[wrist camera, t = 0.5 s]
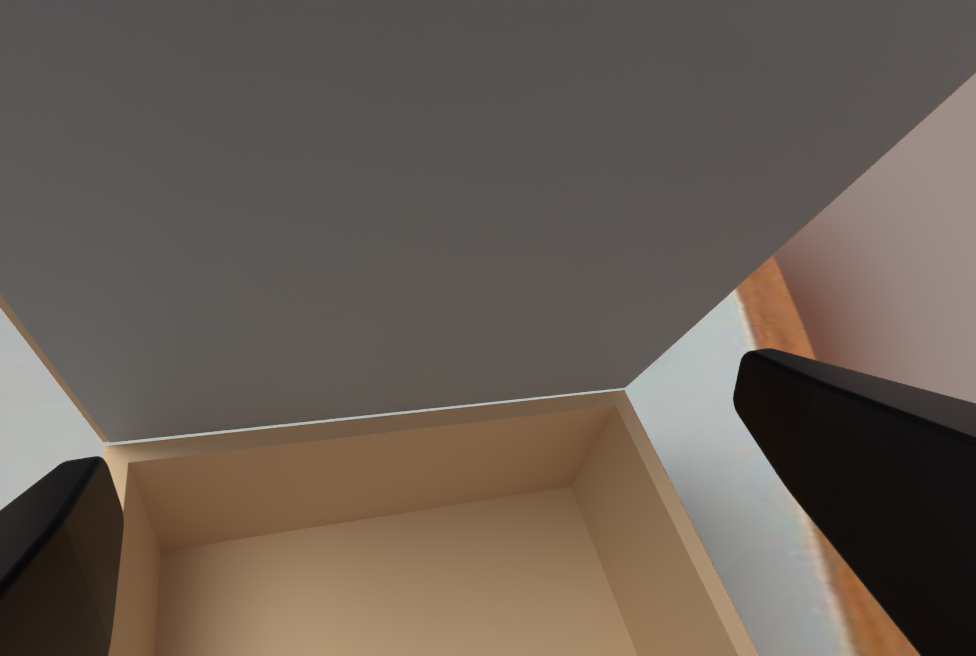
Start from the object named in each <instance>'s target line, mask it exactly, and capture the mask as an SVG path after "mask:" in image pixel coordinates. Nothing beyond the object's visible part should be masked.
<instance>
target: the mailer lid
mask: <svg viewBox="0 0 976 656" xmlns="http://www.w3.org/2000/svg"><path fill="white" fill-rule="evenodd" d="M975 73H976V0H0V307H1V309H2V310H3V311H4V313H5V314H6V315H7V316H8V318H9V319H10V320H11V322H12V323H13V324H14V326H15V327H16V328H17V330H18V331H19V332H20V334H21V335H22V336H23V337H24V339H25V340H26V341H27V343H28V344H29V345H30V347H31V348H32V349H33V351H34V352H35V353H36V354H37V356H38V357H39V358H40V360H41V361H42V362H43V364H44V365H45V366H46V368H47V369H48V370H49V372H50V373H51V374H52V375H53V377H54V378H55V379H56V381H57V382H58V383H59V385H60V386H61V387H62V389H63V390H64V391H65V392H66V394H67V395H68V396H69V398H70V399H71V400H72V402H73V403H74V404H75V406H76V407H77V408H78V410H79V411H80V412H81V413H82V415H83V416H84V417H85V419H86V420H87V421H88V423H89V424H90V425H91V427H92V428H93V429H94V430H95V432H96V433H97V434H98V436H99V437H100V438H101V440H102V441H103V442H119V441H128V440H138V439H147V438H156V437H166V436H175V435H184V434H194V433H203V432H213V431H222V430H231V429H241V428H250V427H260V426H269V425H278V424H288V423H297V422H307V421H316V420H325V419H335V418H344V417H353V416H363V415H372V414H382V413H391V412H400V411H410V410H419V409H429V408H438V407H447V406H457V405H466V404H475V403H485V402H494V401H504V400H513V399H522V398H532V397H541V396H551V395H560V394H569V393H579V392H588V391H597V390H607V389H616V388H625V387H626V386H628V385H629V384H630V383H631V382H632V381H633V380H634V379H635V378H637V377H638V376H639V375H640V374H641V373H642V372H643V371H644V370H645V369H647V368H648V367H649V366H650V365H651V364H652V363H653V362H654V361H655V360H657V359H658V358H659V357H660V356H661V355H662V354H663V353H664V352H665V351H667V350H668V349H669V348H670V347H671V346H672V345H673V344H674V343H675V342H677V341H678V340H679V339H680V338H681V337H682V336H683V335H684V334H686V333H687V332H688V331H689V330H690V329H691V328H692V327H693V326H694V325H696V324H697V323H698V322H699V321H700V320H701V319H702V318H703V317H704V316H706V315H707V314H708V313H709V312H710V311H711V310H712V309H713V308H714V307H716V306H717V305H718V304H719V303H720V302H721V301H722V300H723V299H724V298H726V297H727V296H728V295H729V294H730V293H731V292H732V291H733V290H735V289H736V288H737V287H738V286H739V285H740V284H741V283H742V282H743V281H745V280H746V279H747V278H748V277H749V276H750V275H751V274H752V273H753V272H755V271H756V270H757V269H758V268H759V267H760V266H761V265H762V264H763V263H765V262H766V261H767V260H768V259H769V258H770V257H771V256H772V255H773V254H775V253H776V252H777V251H778V250H779V249H780V248H781V247H782V246H783V245H785V244H786V243H787V242H788V241H789V240H790V239H791V238H792V237H793V236H795V235H796V234H797V233H798V232H799V231H800V230H801V229H802V228H804V227H805V226H806V225H807V224H808V223H809V222H810V221H811V220H812V219H814V217H816V216H817V215H818V214H819V213H820V212H821V211H822V210H824V208H826V207H827V206H828V205H829V204H830V203H831V202H832V201H834V199H836V198H837V197H838V196H839V195H840V194H841V193H842V192H843V191H845V190H846V189H847V188H848V187H849V186H850V185H851V184H852V183H854V182H855V181H856V180H857V179H858V178H859V177H860V176H861V175H863V173H865V172H866V171H867V170H868V169H869V168H870V167H871V166H872V165H874V164H875V163H876V162H877V161H878V160H879V159H880V158H881V157H882V156H884V155H885V154H886V153H887V152H888V151H889V150H890V149H891V148H893V147H894V146H895V145H896V144H897V143H898V142H899V141H900V140H902V139H903V138H904V137H905V136H906V135H907V134H908V133H909V132H910V131H911V130H912V129H914V128H915V127H916V126H917V125H918V124H919V123H920V122H921V121H923V120H924V119H925V118H926V117H927V116H928V115H929V114H930V113H932V112H933V111H934V110H935V109H936V108H937V107H938V106H939V105H941V104H942V103H943V102H944V101H945V100H946V99H947V98H948V97H949V96H951V95H952V94H953V93H954V92H955V91H956V90H957V89H958V88H959V87H961V86H962V85H963V84H964V83H965V82H966V81H967V80H968V79H969V78H971V77H972V76H973V75H974V74H975Z"/></svg>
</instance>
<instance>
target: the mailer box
mask: <svg viewBox="0 0 976 656" xmlns="http://www.w3.org/2000/svg"><path fill="white" fill-rule="evenodd" d="M103 459H104V460H105V461H106V463H107V464H108V467H109V470H110V473H111V476H112V479H113V482H114V485H115V488H116V491H117V494H118V497H119V500H120V503H121V506H122V509H123V516H124V531H123V540H122V550H121V559H120V568H119V577H118V586H117V596H116V605H115V614H114V623H113V631H112V638H111V645H110V650H109V655H108V656H759V654H758V652H757V650H756V648H755V646H754V644H753V642H752V640H751V638H750V636H749V634H748V632H747V630H746V628H745V626H744V624H743V622H742V620H741V618H740V616H739V614H738V612H737V610H736V608H735V606H734V605H733V603H732V601H731V599H730V597H729V595H728V593H727V591H726V589H725V587H724V585H723V583H722V581H721V579H720V577H719V575H718V573H717V571H716V569H715V567H714V565H713V563H712V561H711V559H710V557H709V555H708V554H707V552H706V550H705V548H704V546H703V544H702V542H701V540H700V538H699V536H698V534H697V532H696V530H695V528H694V526H693V524H692V522H691V520H690V518H689V516H688V514H687V512H686V510H685V508H684V506H683V504H682V503H681V501H680V499H679V497H678V495H677V493H676V491H675V489H674V487H673V485H672V483H671V481H670V479H669V477H668V475H667V473H666V471H665V469H664V467H663V465H662V463H661V461H660V459H659V457H658V455H657V453H656V451H655V450H654V448H653V446H652V444H651V442H650V440H649V438H648V436H647V434H646V432H645V430H644V428H643V426H642V424H641V422H640V420H639V418H638V416H637V414H636V412H635V410H634V408H633V406H632V404H631V402H630V400H629V399H628V397H627V395H626V393H625V391H624V390H622V391H613V392H603V393H594V394H585V395H576V396H566V397H557V398H548V399H539V400H529V401H520V402H511V403H502V404H492V405H483V406H474V407H465V408H455V409H446V410H437V411H427V412H418V413H409V414H400V415H390V416H381V417H372V418H363V419H353V420H344V421H335V422H326V423H316V424H307V425H298V426H289V427H279V428H270V429H261V430H252V431H242V432H233V433H224V434H215V435H205V436H196V437H187V438H178V439H168V440H159V441H150V442H141V443H131V444H122V445H113V446H105V451H104V458H103Z"/></svg>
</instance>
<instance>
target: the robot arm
mask: <svg viewBox="0 0 976 656" xmlns="http://www.w3.org/2000/svg"><path fill="white" fill-rule="evenodd" d="M733 402H734V407H735V409H736V412H737V414H738V415H739V417H740V418H741V420H742V421H743V423H744V424H745V426H746V427H747V429H748V430H749V432H750V433H751V435H752V437H753V438H754V440H755V441H756V443H757V444H758V446H759V447H760V449H761V450H762V452H763V453H764V455H765V456H766V458H767V459H768V461H769V462H770V464H771V466H772V467H773V469H774V470H775V472H776V473H777V475H778V476H779V478H780V479H781V481H782V482H783V483H784V485H785V486H786V488H787V489H788V490H789V492H790V493H791V494H792V496H793V497H794V498H795V500H796V501H797V502H798V503H799V505H800V506H801V507H802V508H803V510H804V511H805V512H806V513H807V515H808V516H809V517H810V518H811V520H812V521H813V522H814V523H815V525H816V526H817V527H818V528H819V530H820V531H821V532H822V533H823V535H824V536H825V537H826V538H827V540H828V541H829V542H830V543H831V545H832V546H833V547H834V548H835V550H836V551H837V552H838V553H839V555H840V556H841V557H842V558H843V560H844V561H845V562H846V563H847V565H848V566H849V567H850V568H851V570H852V571H853V572H854V573H855V575H856V576H857V577H858V578H859V580H860V581H861V582H862V583H863V585H864V586H865V587H866V588H867V590H868V591H869V592H870V593H871V595H872V596H873V597H874V598H875V600H876V601H877V602H878V603H879V605H880V606H881V607H882V608H883V610H884V611H885V612H886V613H887V615H888V616H889V617H890V618H891V620H892V621H893V622H894V623H895V625H896V626H897V627H898V628H899V630H900V631H901V632H902V633H903V635H904V636H905V637H906V638H907V640H908V641H909V642H910V643H911V645H912V646H913V647H914V648H915V650H916V651H917V652H918V653H919V655H920V656H976V404H975V403H972V402H968V401H964V400H961V399H957V398H953V397H950V396H946V395H942V394H938V393H935V392H931V391H928V390H924V389H920V388H916V387H913V386H909V385H905V384H902V383H898V382H894V381H891V380H887V379H883V378H879V377H875V376H872V375H868V374H864V373H861V372H857V371H854V370H849V369H846V368H842V367H839V366H835V365H831V364H828V363H824V362H820V361H817V360H813V359H809V358H805V357H802V356H798V355H794V354H791V353H787V352H783V351H780V350H776V349H771V348H766V349H760V350H754V351H749V352H747V353H746V354H744V356H743V357H742V359H741V362H740V366H739V371H738V376H737V381H736V385H735V390H734V395H733ZM123 531H124V516H123V509H122V506H121V503H120V500H119V497H118V494H117V491H116V488H115V485H114V482H113V479H112V476H111V473H110V470H109V467H108V464H107V463H106V461H105V460H104V459H103V458H101V457H99V456H95V457H89V458H82V459H76V460H70V461H65V462H63V463H61V464H60V465H58V466H57V467H56V468H54V469H53V470H52V471H51V472H49V473H48V474H47V475H45V476H44V477H43V478H42V479H40V480H39V481H38V482H36V483H35V484H34V485H33V486H31V487H30V488H29V489H27V490H26V491H25V492H24V493H22V494H21V495H20V496H18V497H17V498H16V499H15V500H13V501H12V502H11V503H9V504H8V505H7V506H5V507H4V508H3V509H2V510H0V656H108V655H109V650H110V645H111V638H112V631H113V623H114V614H115V605H116V596H117V586H118V577H119V568H120V559H121V550H122V540H123Z"/></svg>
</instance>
